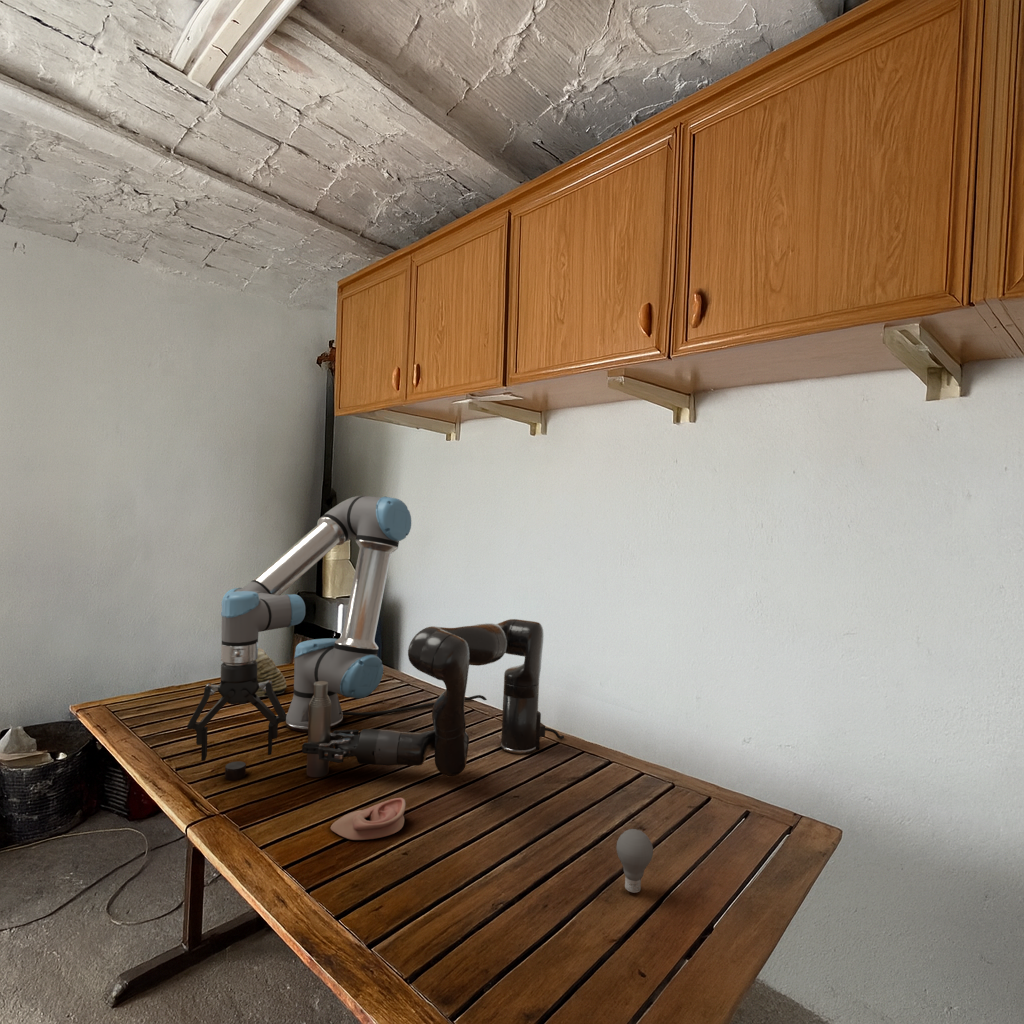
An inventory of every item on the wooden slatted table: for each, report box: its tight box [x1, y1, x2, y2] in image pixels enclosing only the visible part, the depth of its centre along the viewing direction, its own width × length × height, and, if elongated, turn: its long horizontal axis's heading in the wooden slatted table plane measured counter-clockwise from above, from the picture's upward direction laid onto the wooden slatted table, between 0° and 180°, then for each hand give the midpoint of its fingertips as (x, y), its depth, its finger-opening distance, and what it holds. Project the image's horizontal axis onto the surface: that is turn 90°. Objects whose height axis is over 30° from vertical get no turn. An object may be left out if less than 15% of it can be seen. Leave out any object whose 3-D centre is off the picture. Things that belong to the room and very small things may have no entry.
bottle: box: [306, 681, 331, 778], centre depth 145 cm, size 5×5×21 cm
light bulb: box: [615, 828, 654, 894], centre depth 106 cm, size 6×6×10 cm
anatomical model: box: [330, 797, 407, 841], centre depth 123 cm, size 13×4×12 cm
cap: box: [224, 760, 247, 781], centre depth 142 cm, size 4×4×2 cm
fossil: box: [255, 647, 288, 698], centre depth 198 cm, size 9×18×15 cm, turn 132°
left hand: (237, 755), depth 142 cm, fingers open, 13 cm apart
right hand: (307, 743), depth 145 cm, fingers closed on bottle, 5 cm apart
